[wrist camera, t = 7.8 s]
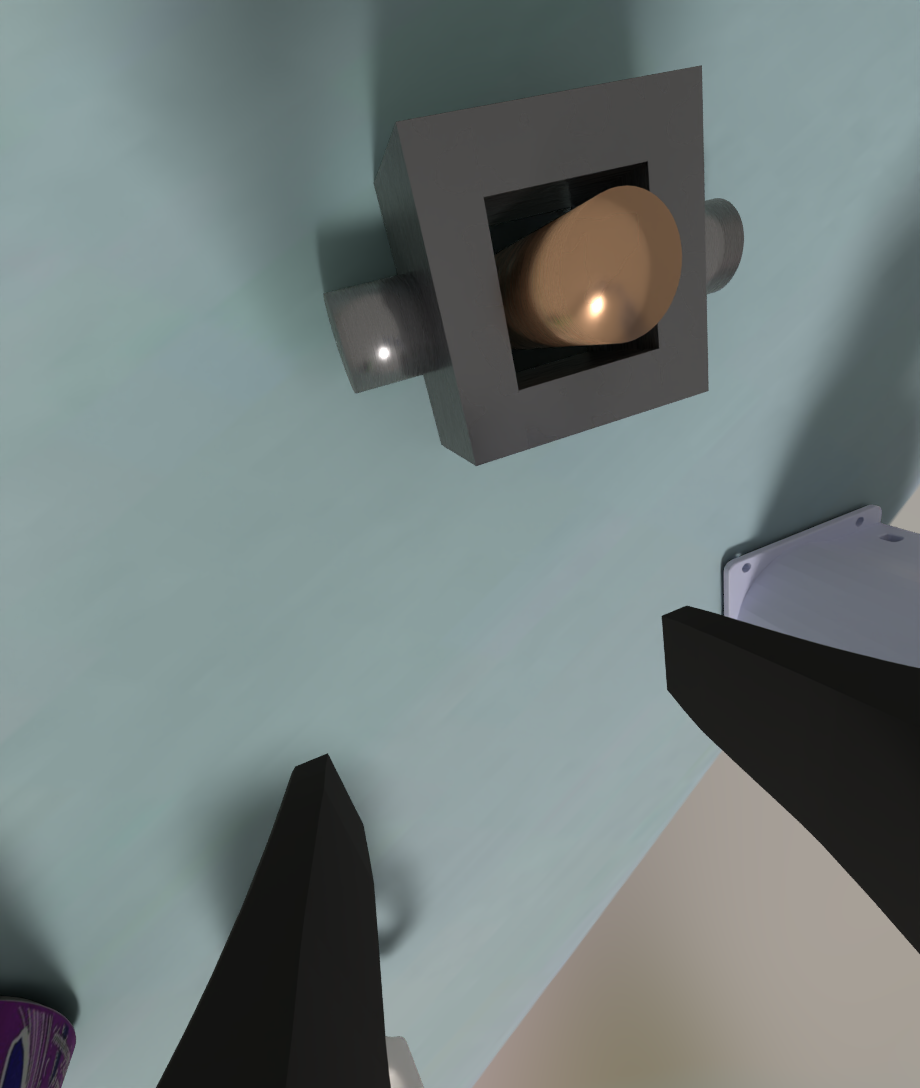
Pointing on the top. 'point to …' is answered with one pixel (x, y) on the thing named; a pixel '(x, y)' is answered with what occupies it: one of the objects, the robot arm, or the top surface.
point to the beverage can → (33, 1044)
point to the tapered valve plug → (592, 273)
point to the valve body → (470, 270)
